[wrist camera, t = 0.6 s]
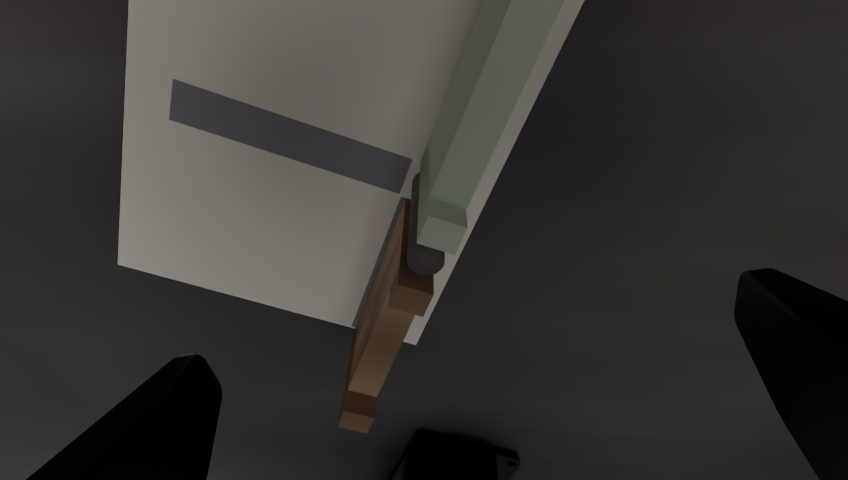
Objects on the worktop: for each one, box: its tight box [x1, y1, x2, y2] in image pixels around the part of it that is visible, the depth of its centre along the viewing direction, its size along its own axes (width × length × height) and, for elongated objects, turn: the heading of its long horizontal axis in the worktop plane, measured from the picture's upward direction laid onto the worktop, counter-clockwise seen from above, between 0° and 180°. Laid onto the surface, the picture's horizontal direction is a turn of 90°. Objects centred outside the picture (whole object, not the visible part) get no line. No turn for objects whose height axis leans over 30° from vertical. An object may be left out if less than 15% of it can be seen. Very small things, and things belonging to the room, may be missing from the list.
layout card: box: [118, 0, 584, 345], centre depth 20 cm, size 18×14×1 cm
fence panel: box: [417, 0, 565, 255], centre depth 15 cm, size 9×1×6 cm, turn 160°
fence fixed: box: [338, 172, 445, 433], centre depth 20 cm, size 9×1×6 cm, turn 160°
